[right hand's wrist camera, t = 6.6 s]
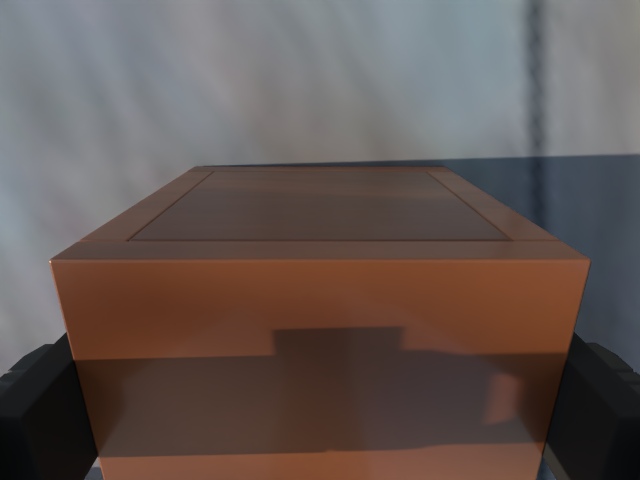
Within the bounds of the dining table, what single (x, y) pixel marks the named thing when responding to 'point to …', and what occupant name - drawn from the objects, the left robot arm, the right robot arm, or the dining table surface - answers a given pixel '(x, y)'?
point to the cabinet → (320, 328)
